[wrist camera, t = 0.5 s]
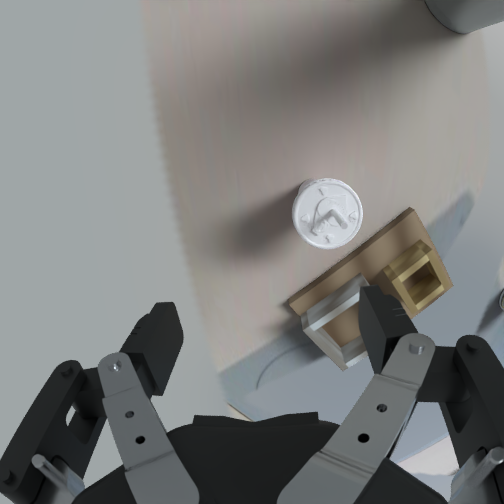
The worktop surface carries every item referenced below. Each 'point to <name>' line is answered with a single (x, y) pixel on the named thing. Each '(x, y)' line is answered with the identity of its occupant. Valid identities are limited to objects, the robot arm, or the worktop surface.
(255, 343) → the worktop surface
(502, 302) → the supplement bottle
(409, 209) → the fitting board
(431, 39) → the worktop surface
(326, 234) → the smoothie
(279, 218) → the worktop surface
